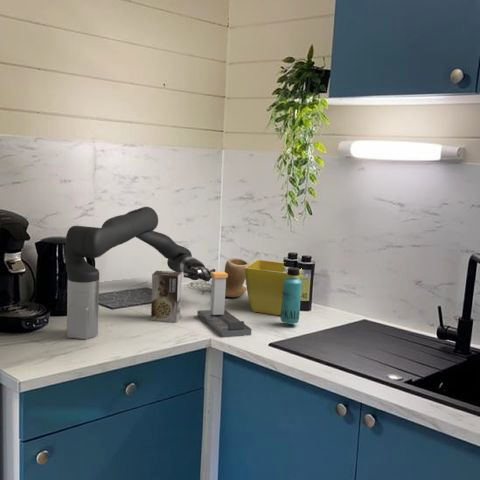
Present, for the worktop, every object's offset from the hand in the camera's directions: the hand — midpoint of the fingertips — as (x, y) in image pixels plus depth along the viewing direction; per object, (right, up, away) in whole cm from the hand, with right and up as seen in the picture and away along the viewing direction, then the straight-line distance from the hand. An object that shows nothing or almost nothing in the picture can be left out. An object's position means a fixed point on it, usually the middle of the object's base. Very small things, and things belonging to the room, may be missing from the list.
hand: (207, 278), depth 215 cm
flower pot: (+24, -13, +10) cm, 29 cm away
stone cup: (+9, -9, +30) cm, 33 cm away
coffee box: (-14, -13, -9) cm, 21 cm away
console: (+6, -15, -12) cm, 20 cm away
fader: (+4, -11, -7) cm, 14 cm away
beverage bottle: (+28, -16, -8) cm, 33 cm away
